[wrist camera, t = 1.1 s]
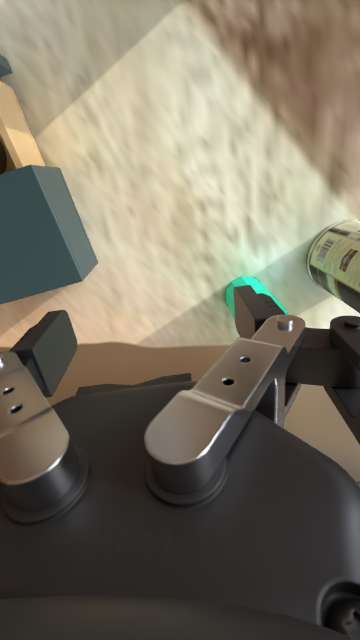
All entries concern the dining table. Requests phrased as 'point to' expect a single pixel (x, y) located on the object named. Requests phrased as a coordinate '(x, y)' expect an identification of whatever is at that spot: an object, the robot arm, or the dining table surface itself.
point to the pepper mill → (2, 159)
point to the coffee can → (337, 261)
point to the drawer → (15, 128)
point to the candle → (255, 285)
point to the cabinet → (40, 234)
